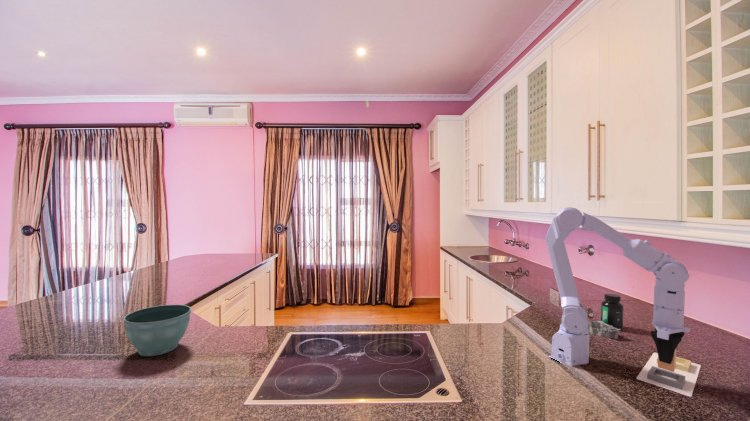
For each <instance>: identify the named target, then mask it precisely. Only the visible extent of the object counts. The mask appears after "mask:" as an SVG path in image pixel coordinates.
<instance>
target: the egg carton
mask: <svg viewBox="0 0 750 421" xmlns="http://www.w3.org/2000/svg"><path fill="white" fill-rule="evenodd" d="M587 329H589V331H590V333H589V334H591V335H596V336H598V337H603V338H605V339H614V340H618V338H619V331H621V330H620V329H617V328H615V327H613V326H610V325H608V324H605V323H604V322H603V321H601V320H593V321H592V320H588V328H587Z"/></svg>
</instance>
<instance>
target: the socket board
mask: <svg viewBox="0 0 750 421" xmlns="http://www.w3.org/2000/svg"><path fill="white" fill-rule="evenodd" d="M701 368H702V364H698V363H695V362H692V360H690V359H685V358H682V357H678V356H676V368H675V371H674V372H672V371H669V370H665V369H662V368H659V367H658V352H653V353H652V355H651V356H650V357H649V359H648V360H647V362H646V364H645V365H644V366H643V368H642V369H641V370H640V372H639V374H638V375H637V376H636V380H638V381H642V382H645V383H647V384H651V385H654V386H657V387H659V388H663V389H666V390H669V391H672V392H675V393H677V394H681V395H683V396H687V397H690V398H691V397H692V396H693V392H694V389H695V387H696V383H697V379H698V376H699V372H700V369H701Z"/></svg>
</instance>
